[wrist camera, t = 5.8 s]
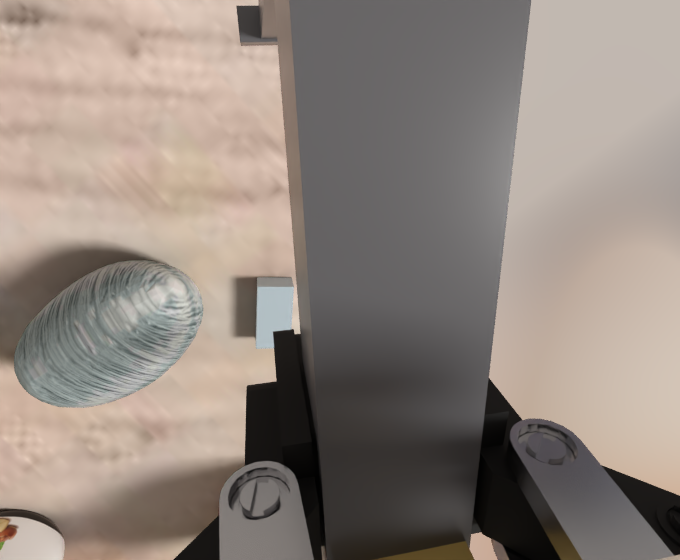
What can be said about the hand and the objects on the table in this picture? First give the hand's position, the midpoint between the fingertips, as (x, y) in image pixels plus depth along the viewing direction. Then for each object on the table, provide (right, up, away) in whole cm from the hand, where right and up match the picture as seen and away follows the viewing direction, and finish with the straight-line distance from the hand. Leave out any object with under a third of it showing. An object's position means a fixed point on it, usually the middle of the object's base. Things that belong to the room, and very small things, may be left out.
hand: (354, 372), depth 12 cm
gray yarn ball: (-18, 0, +25) cm, 31 cm away
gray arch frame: (-2, +4, +10) cm, 11 cm away
